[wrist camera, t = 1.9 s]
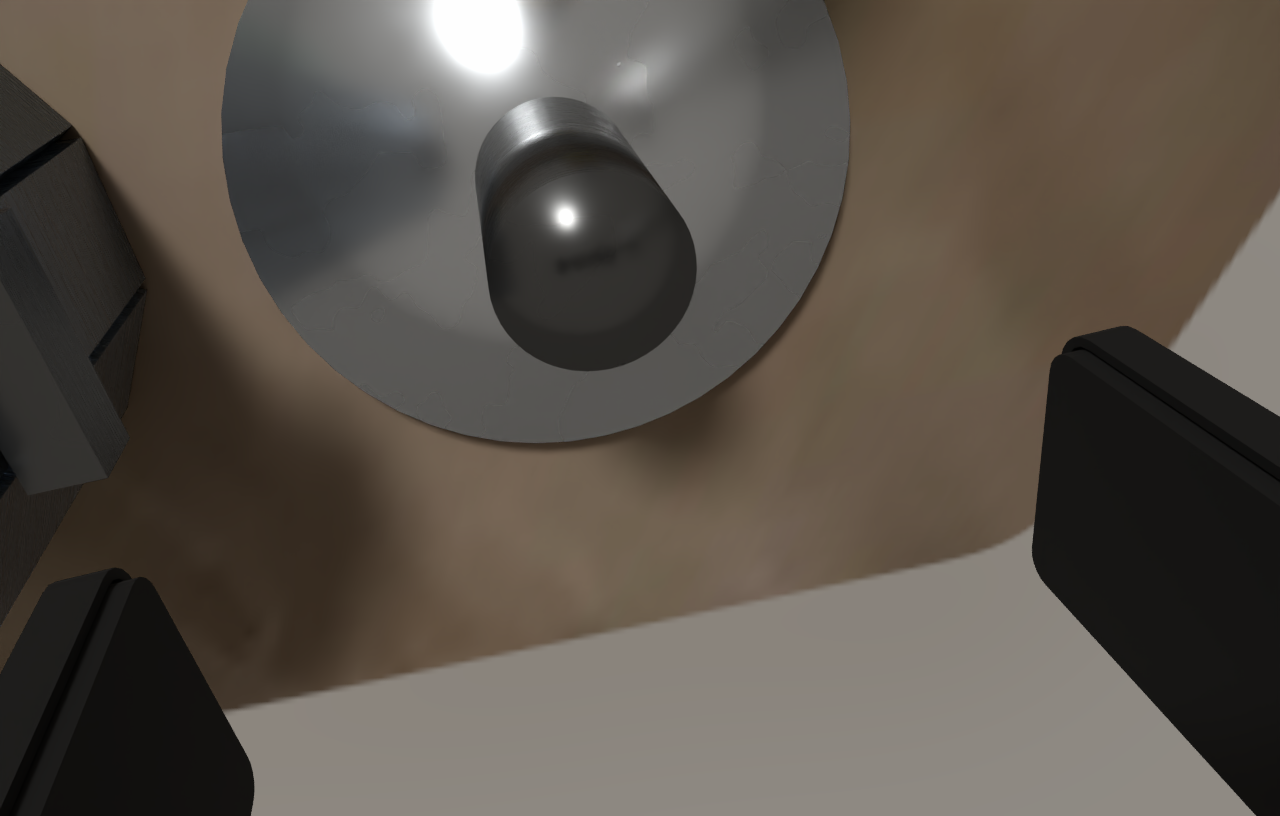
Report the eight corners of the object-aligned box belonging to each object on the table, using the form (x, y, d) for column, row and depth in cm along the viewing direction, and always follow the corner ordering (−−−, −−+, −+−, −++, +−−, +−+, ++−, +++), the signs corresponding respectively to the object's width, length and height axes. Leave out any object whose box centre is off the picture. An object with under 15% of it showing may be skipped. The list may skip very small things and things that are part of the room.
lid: (824, -237, 19) (1005, -290, 13) (842, 362, 26) (963, 507, 20) (117, -124, 17) (-48, -124, 11) (344, 473, 25) (314, 663, 19)
